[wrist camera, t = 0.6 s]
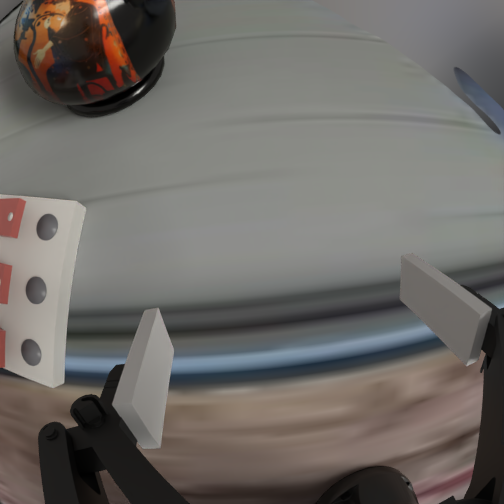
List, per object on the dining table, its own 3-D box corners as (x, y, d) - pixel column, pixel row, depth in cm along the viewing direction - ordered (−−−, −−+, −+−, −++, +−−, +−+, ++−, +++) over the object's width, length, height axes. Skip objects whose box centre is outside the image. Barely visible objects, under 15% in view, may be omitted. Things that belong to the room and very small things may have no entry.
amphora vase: (29, 115, 36) (-61, 2, 8) (108, 25, 40) (73, -94, 12) (126, 156, 36) (27, -23, 8) (209, 49, 40) (210, -111, 12)
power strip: (64, 382, 31) (52, 388, 27) (-11, 353, 30) (-24, 355, 27) (86, 208, 34) (75, 200, 31) (10, 200, 33) (-3, 193, 30)
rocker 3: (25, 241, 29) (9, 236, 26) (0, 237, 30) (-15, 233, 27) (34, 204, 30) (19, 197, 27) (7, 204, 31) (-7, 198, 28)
